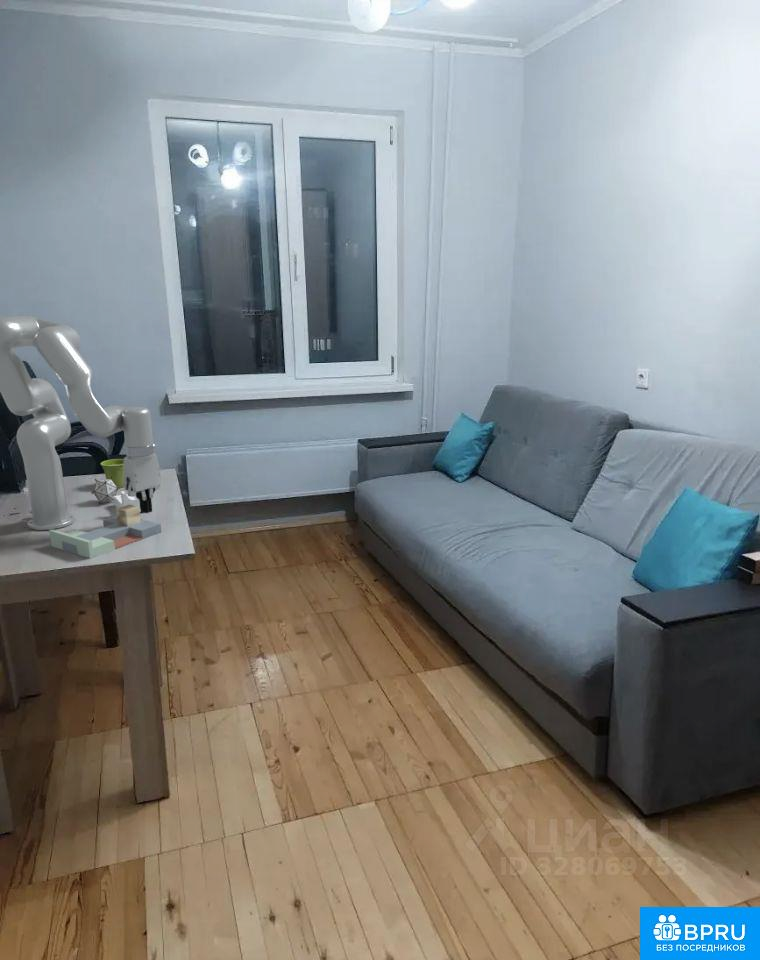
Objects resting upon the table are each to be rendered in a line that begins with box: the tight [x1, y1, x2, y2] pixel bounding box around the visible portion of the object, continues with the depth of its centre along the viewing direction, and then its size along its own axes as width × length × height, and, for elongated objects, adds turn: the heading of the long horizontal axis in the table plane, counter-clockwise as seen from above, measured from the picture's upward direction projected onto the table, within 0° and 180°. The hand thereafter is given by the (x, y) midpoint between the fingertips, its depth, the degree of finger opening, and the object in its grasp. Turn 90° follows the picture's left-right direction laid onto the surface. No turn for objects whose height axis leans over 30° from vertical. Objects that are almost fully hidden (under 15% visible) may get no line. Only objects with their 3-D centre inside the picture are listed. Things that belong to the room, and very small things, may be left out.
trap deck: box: [48, 515, 162, 559], centre depth 190 cm, size 17×23×4 cm
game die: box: [90, 477, 121, 505], centre depth 222 cm, size 9×8×10 cm
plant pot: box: [100, 458, 124, 488], centre depth 240 cm, size 9×9×9 cm
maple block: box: [115, 505, 142, 526], centre depth 196 cm, size 4×4×4 cm
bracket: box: [113, 490, 142, 513], centre depth 216 cm, size 13×7×8 cm, turn 34°
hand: (146, 511), depth 201 cm, fingers closed
